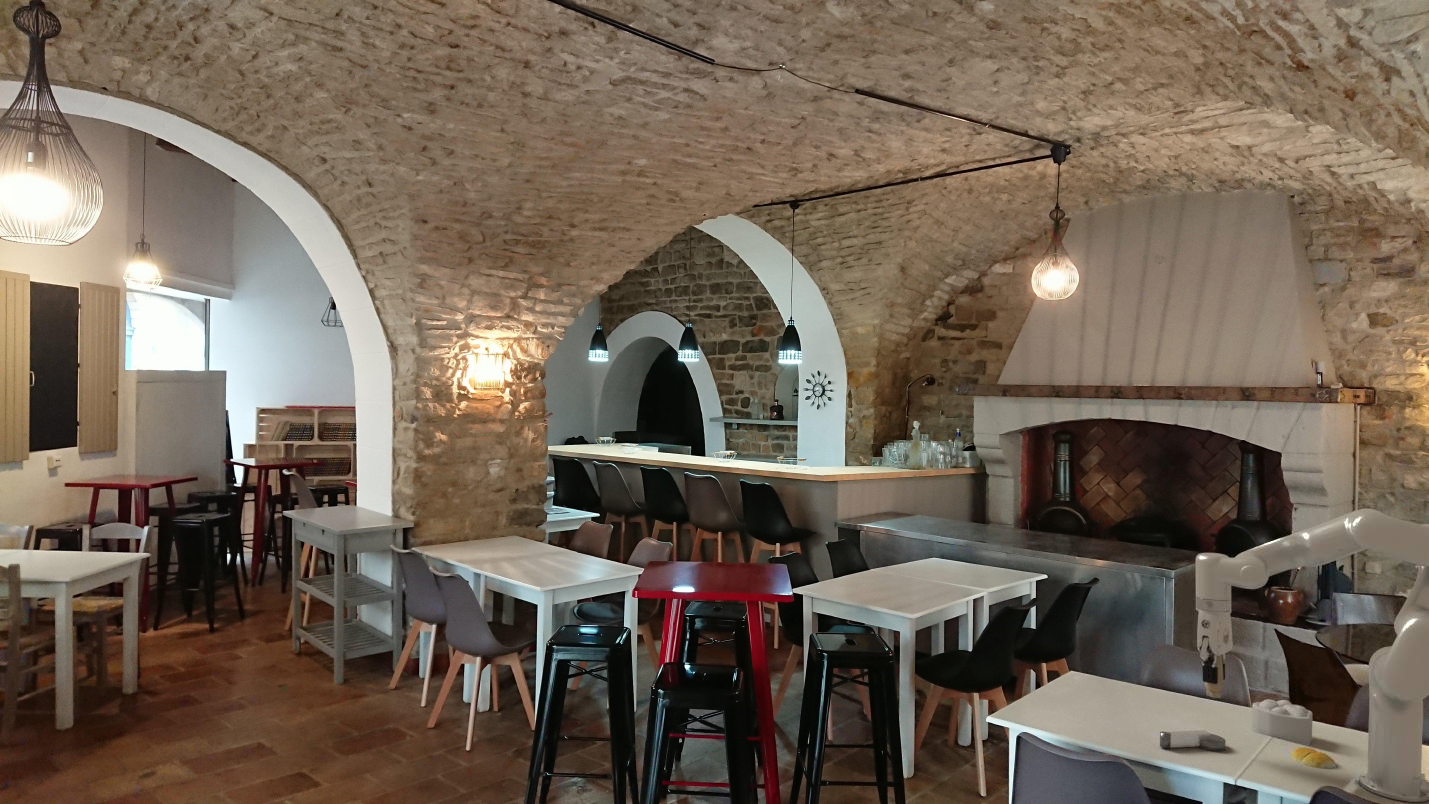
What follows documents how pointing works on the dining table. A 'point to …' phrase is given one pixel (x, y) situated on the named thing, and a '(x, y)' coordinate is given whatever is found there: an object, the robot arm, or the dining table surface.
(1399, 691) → the robot arm
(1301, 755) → the bread roll
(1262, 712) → the white egg tray
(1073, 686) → the dining table surface
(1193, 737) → the grey elongated piece
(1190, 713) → the dining table surface
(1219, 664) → the handle
